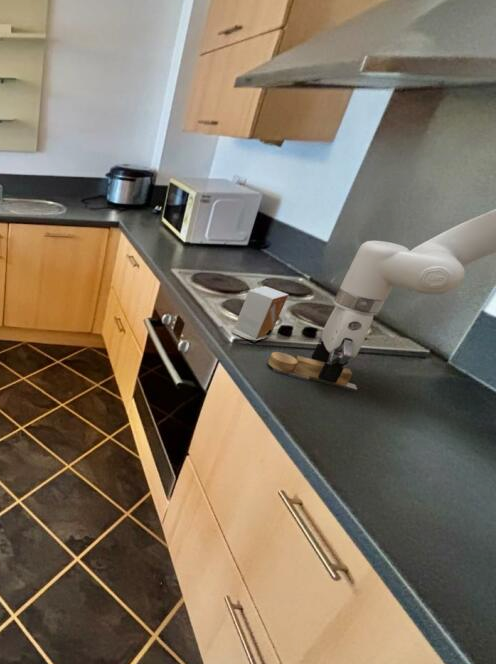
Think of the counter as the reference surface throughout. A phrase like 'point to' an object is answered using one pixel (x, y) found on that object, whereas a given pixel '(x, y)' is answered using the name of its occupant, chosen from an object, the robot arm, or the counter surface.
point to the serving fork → (303, 377)
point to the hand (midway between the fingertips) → (322, 369)
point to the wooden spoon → (304, 366)
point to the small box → (260, 311)
